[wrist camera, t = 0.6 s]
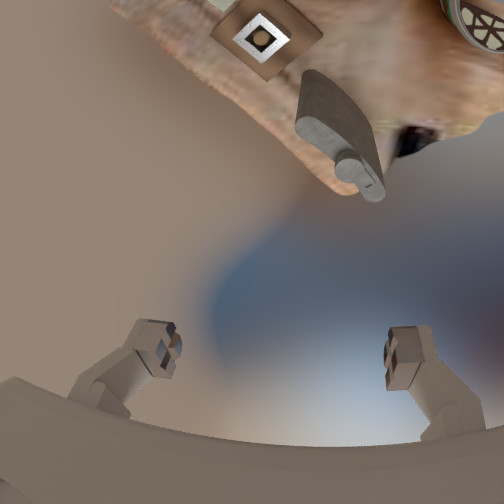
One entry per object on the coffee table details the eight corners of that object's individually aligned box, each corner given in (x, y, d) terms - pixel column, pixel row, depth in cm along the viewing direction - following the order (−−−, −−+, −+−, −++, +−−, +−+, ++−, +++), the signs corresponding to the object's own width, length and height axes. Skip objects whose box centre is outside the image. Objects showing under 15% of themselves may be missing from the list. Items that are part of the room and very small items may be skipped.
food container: (425, 24, 32) (448, 38, 26) (430, -10, 27) (455, -3, 21) (490, 48, 30) (520, 69, 24) (497, 17, 25) (529, 33, 19)
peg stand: (264, -18, 32) (257, -17, 29) (323, 34, 38) (323, 42, 34) (212, 32, 40) (201, 41, 37) (268, 78, 46) (262, 91, 42)
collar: (263, 9, 35) (259, 13, 32) (292, 34, 37) (290, 39, 35) (238, 33, 38) (232, 39, 36) (265, 56, 41) (261, 63, 39)
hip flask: (298, 77, 45) (287, 138, 33) (315, 62, 42) (313, 116, 30) (361, 139, 51) (373, 218, 39) (378, 127, 49) (398, 204, 37)
